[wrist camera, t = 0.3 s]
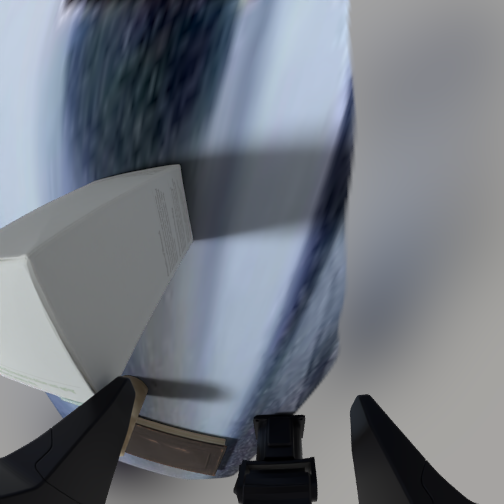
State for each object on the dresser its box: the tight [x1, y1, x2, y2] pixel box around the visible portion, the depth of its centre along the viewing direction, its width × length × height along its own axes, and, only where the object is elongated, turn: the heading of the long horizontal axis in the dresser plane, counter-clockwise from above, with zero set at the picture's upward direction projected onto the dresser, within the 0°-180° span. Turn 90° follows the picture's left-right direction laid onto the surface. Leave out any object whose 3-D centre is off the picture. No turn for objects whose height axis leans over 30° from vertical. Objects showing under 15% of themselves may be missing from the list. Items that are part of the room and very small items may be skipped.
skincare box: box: [0, 164, 193, 403], centre depth 14 cm, size 8×7×16 cm
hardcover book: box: [125, 417, 227, 476], centre depth 37 cm, size 16×23×2 cm
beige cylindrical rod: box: [120, 375, 148, 456], centre depth 26 cm, size 4×4×10 cm
